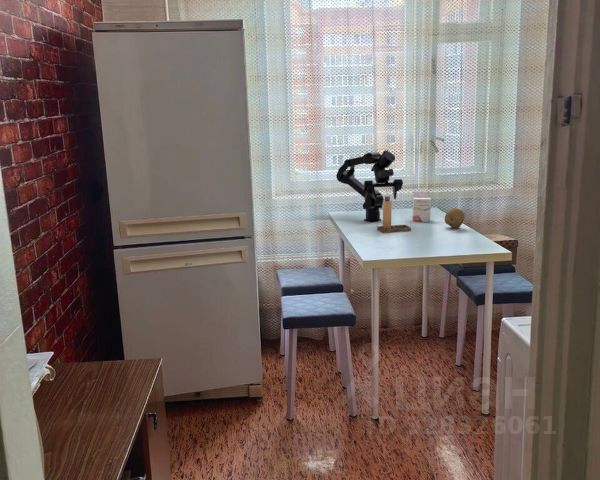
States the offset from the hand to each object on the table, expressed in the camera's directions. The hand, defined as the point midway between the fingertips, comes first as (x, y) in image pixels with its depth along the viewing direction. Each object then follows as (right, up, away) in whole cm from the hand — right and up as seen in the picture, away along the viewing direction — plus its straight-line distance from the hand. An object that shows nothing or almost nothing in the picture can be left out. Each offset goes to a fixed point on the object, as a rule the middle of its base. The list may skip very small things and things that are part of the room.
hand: (385, 199), depth 297 cm
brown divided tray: (+3, -15, -5) cm, 16 cm away
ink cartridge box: (+20, -10, +16) cm, 27 cm away
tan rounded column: (0, -15, -6) cm, 16 cm away
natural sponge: (+32, -14, -3) cm, 35 cm away
